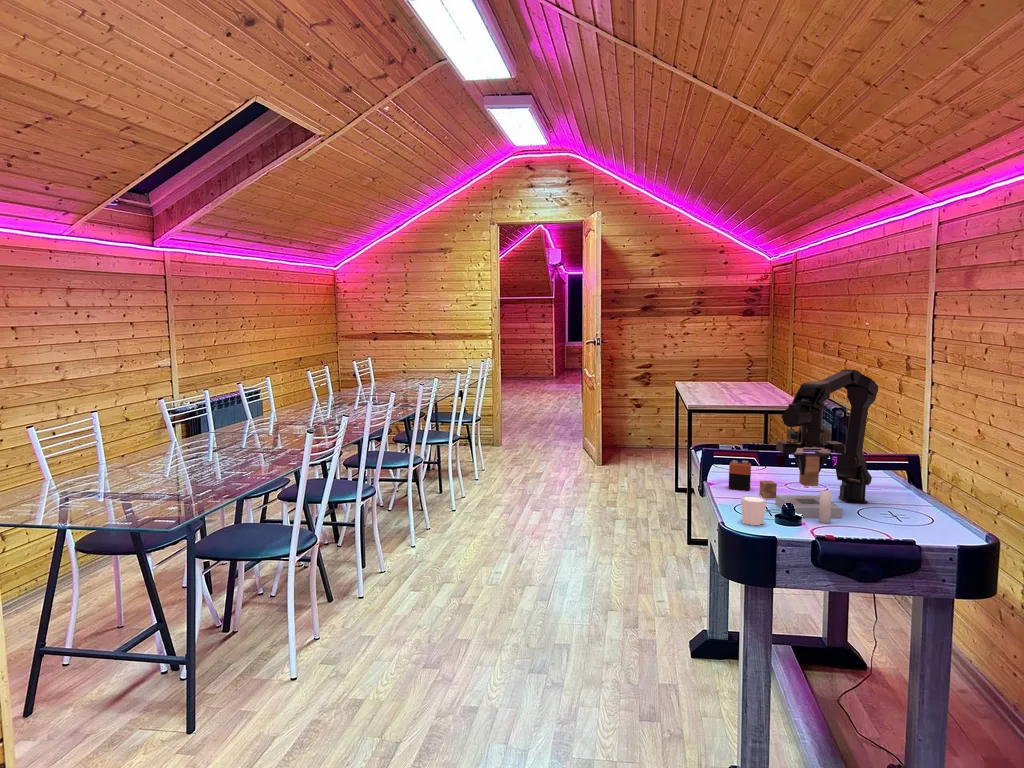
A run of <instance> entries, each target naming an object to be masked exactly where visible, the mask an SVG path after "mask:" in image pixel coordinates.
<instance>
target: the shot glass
mask: <svg viewBox="0 0 1024 768" xmlns="http://www.w3.org/2000/svg"><path fill="white" fill-rule="evenodd" d="M740 500H741V501H740V503H741V518H742V521H743V522H744V523H743V522H742V523H743V524H745V523H746V524H745V525H747V524H751V525H750V526H753V525H760V524H763V525H764V520H765V514H766V507H767V498H763V497H761V496H760V497H759V496H752V495H750V496H749V495H748V496H742V497H741V498H740ZM760 526H761V525H760Z"/></svg>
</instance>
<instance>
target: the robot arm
mask: <svg viewBox="0 0 1024 768" xmlns="http://www.w3.org/2000/svg"><path fill="white" fill-rule="evenodd" d="M842 388H843V389H844V390H845V391H846V398H847V400H848V402H849V404H850V412H849V419H848V426H847V433H846V440H845V444H844V443H843V442H839V441H837V440H832V441H831V440H828V441H827V440H825V441H824V442H822V435H823V433H824V432H825V429H824V428H823V416H824V415H823V414H824V413H823V412H824V411H823V410H827V409H828V406H826V404H824V403H826V401H827V400H829V399H830V398H831V394H832V393H835V392H836V391H838V390H840V389H842ZM878 392H879V385H878V384H877V383H876V381H875V380H873V379H872V378H871V377H869V376H867V375H865V374H863V373H861V372H860V371H859V370H858V369H848V368H844V369H841V370H840V371H839V372H836V373H834V374H832V375H830V376H828V377H825V378H823V379H822V380H814V381H807V382H802V383H801V384H800V387H799V388H798V390H797V392H796V394H795V396H794V398H793V399H792V402H791V403H789V404H788V408H785V410H784V411H782V412H783V413H782V414H781V420H782V422H783V424H784V425H785V426H787V427H789V429H787V430H786V439H787V440H778V442H777V443H776V447H775V450H776V451H778V452H781V453H782V454H791V455H792V456H793V457H794V459H795V461H796V464H797V467H798V471H799V475H800V474H801V475H804V470H805V457H806V455H805V454H806V453H804V451H814V455H816V456H818V457H820V459H819V473H820V472H821V470H822V469H823V467H824V465H825V464H826V462H827V461H828V460H829V458H830V457H833V456H834V455H833V453H835V454H837V456H836V462H835V466H834V467H835V468H834V469H835V473H836V478H837V480H838V481H841V484H840V486H839V495H838V498H839V499H840V500H842V501H844V502H846V503H848V504H849V503H850V504H851V503H853V504H859V503H860V504H861V503H863V504H867V503H869V502H868V500H866V486H869V485H871V483H872V480H873V479H872V478H873V477H872V475H871V474H870V472H869V470H868V468H867V460H866V458H865V456H864V455H865V454H863V449H864V448H863V446H864V443H865V442H864V441H865V434H866V433H865V432H866V427H867V420H868V414H869V413H868V412H869V408H870V407H871V406H872V405H873V404H874V402H875V401H876V399H877V394H878ZM794 427H795V428H796V427H798V431H796V429H794ZM831 451H832V452H833V453H831Z"/></svg>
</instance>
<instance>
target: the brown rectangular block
mask: <svg viewBox="0 0 1024 768" xmlns="http://www.w3.org/2000/svg"><path fill="white" fill-rule="evenodd" d="M804 454H805V455H806V457H805V470H804V475H801V474H800V473H799V480H798V484H800V485H802V486H803V487H819V478H820V477H819V476H820V475H819V474H820V472H819V459H820V457H818V456H816V454H815V453H812V454H811V453H804Z"/></svg>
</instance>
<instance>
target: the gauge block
mask: <svg viewBox="0 0 1024 768" xmlns="http://www.w3.org/2000/svg"><path fill="white" fill-rule="evenodd" d="M832 494H833V492H832V491H831V490H826V489H824V490H823V489H822V490H821V489H820V490H819V495H814V494H811V495H810V494H809V495H808V494H804V495H803V494H793V495H792V494H788V495H787V494H776V499H775V505H776V506H777V507H779V508H780V509H781V508H782V506H783V504H785V503H792V504H793V506H794V509H795V512H796V513H797V514H802V515H803V517H804V519H806V518H807V519H809V518H810V519H814V518H815V519H818V523H821V524H824V523H825V524H827V525H828V523H829V524H830V523H831V519H842V517H843V507H841V506H839V505H837V504H836V503H834V502H833V501H832Z"/></svg>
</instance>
